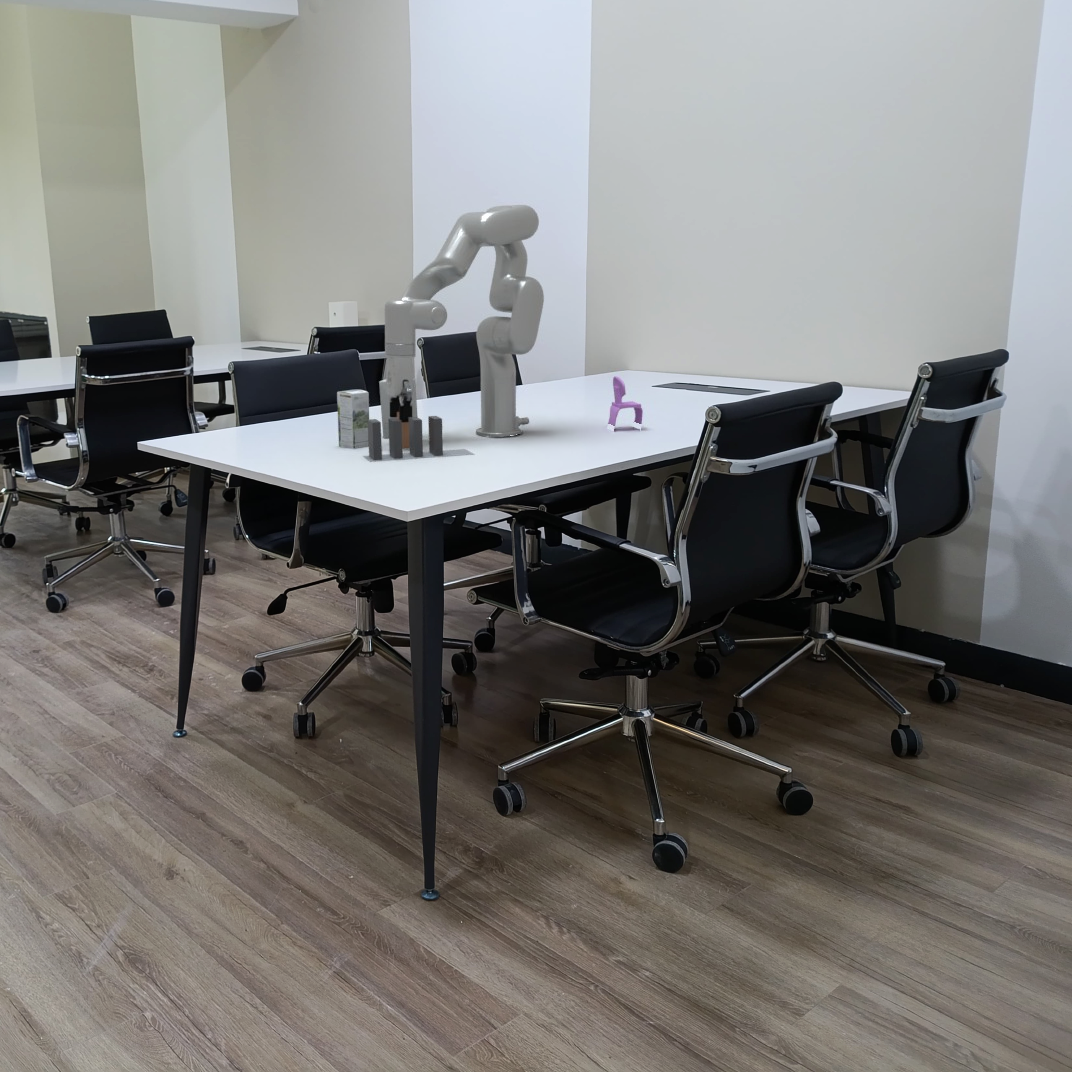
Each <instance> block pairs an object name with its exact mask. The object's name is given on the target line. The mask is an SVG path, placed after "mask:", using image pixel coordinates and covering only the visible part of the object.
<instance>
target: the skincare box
mask: <svg viewBox="0 0 1072 1072" xmlns="http://www.w3.org/2000/svg"><path fill="white" fill-rule="evenodd" d="M378 383H379V396H380V398H379V399H380V414H381V430H382V438H383V439H389V424H388V418H397V417H390V402H392V401H390V396H389V395H388V394H387V393H386V379H383V380H380V381H378ZM416 383H417V382H416V378H413V396H412V417H418V402H417V388H416V386H417V385H416ZM403 399H404V398H403ZM418 418H419V417H418Z"/></svg>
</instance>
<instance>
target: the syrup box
mask: <svg viewBox="0 0 1072 1072" xmlns="http://www.w3.org/2000/svg"><path fill="white" fill-rule="evenodd" d="M369 393H370V392H368V391H367V390H363V389H349V390H348V389H347V390H342V391H341V390H340V391H339V390H338V391H337V392H336V402H337V429H338V430H337V431H338V447H340V448H347V449H351V450H356V449H361V448H365V447H369V441H368V420H369V419H370V403H369V402H370V398H369V396H370V395H369Z"/></svg>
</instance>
